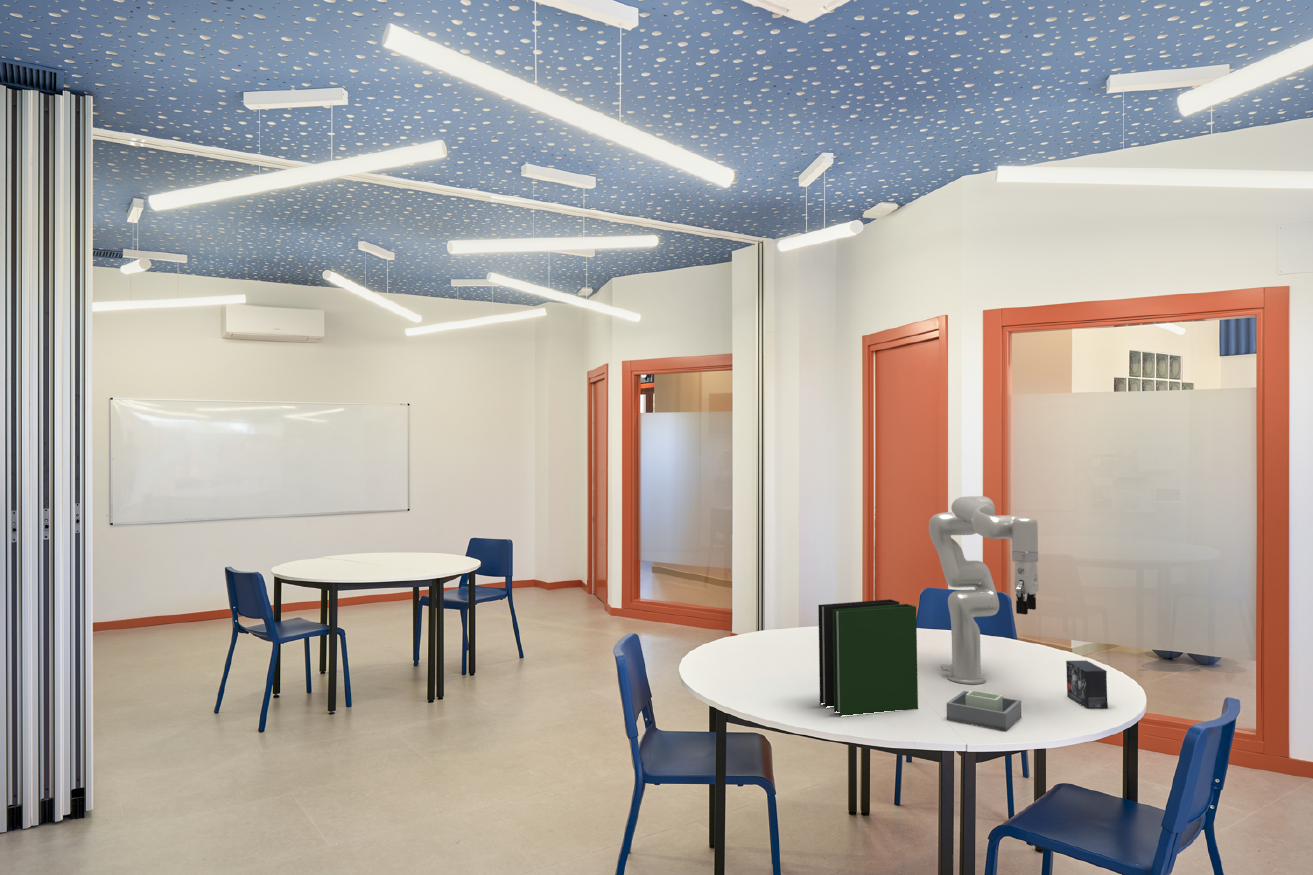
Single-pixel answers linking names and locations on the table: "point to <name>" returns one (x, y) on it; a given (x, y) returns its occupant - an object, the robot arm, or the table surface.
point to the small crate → (984, 700)
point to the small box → (1087, 684)
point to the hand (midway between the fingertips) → (1026, 611)
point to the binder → (868, 656)
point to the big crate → (984, 713)
